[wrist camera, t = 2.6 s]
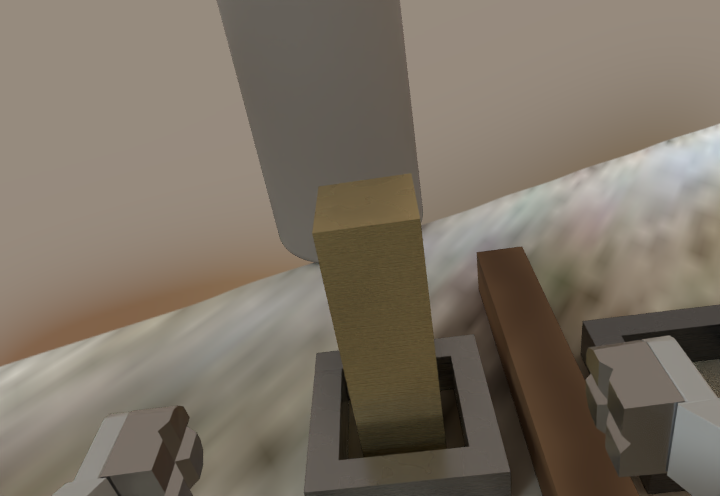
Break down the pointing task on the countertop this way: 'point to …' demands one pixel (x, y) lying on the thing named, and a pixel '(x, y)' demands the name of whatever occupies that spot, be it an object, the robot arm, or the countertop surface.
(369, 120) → the tall grey cup
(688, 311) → the frame
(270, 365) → the countertop surface
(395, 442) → the lock bar
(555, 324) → the rail
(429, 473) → the grey square frame
